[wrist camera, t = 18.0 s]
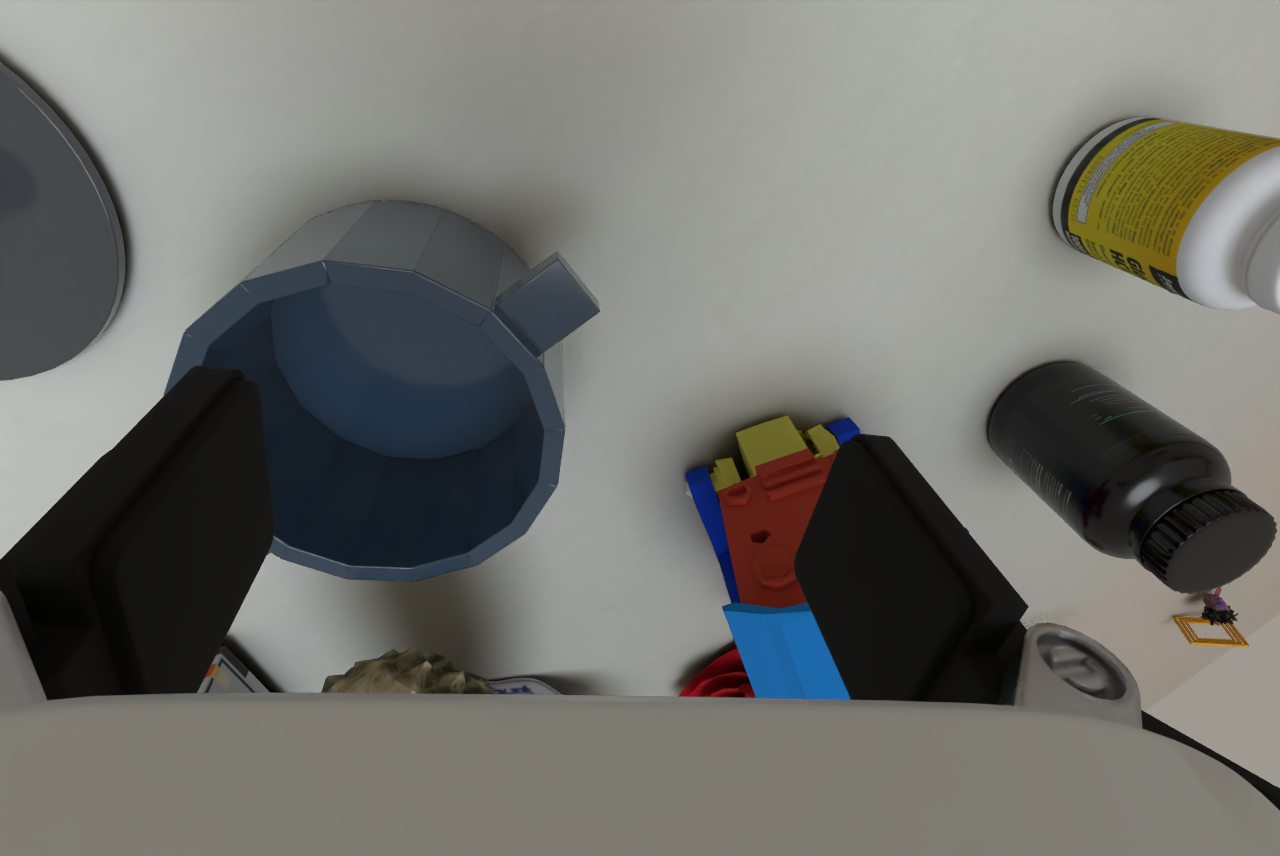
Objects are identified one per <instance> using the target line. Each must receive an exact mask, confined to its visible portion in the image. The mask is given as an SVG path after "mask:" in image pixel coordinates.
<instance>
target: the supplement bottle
mask: <svg viewBox="0 0 1280 856" xmlns="http://www.w3.org/2000/svg"><path fill="white" fill-rule="evenodd" d="M989 439H990V443H991V446H992V448H993V450H994V452H995V453H996V454H997V456H998V457H999V458H1000V459H1001V460H1002V461H1003V462H1004V463H1005V464H1006V465H1007V466H1008V467H1009V468H1010V469H1011V470H1012V471H1013V472H1014V473H1015V474H1016V475H1017V476H1018V477H1019V478H1020V479H1021V480H1022V481H1023V482H1024V483H1026V484H1027V485H1028V486H1029V487H1030V488H1031V489H1032V490H1033V491H1034V492H1035V493H1036V494H1037V495H1038V496H1039V497H1040V498H1041V499H1042V500H1043V501H1044V502H1045V503H1046V504H1047V505H1048V506H1049V507H1050V508H1051V509H1052V510H1053V511H1054V512H1056V513H1057V514H1058V515H1059V516H1060V517H1061V518H1062V519H1063V520H1064V521H1065V522H1066V523H1067V524H1068V525H1069V526H1070V527H1071V528H1072V529H1073V530H1074V531H1075V532H1076V533H1077V534H1078V535H1079V536H1080V537H1081V538H1082V539H1083V540H1085V541H1086V542H1087V543H1088V544H1089V545H1091V546H1092V547H1093V548H1094V549H1096V550H1098V551H1099V552H1102V553H1104V554H1107V555H1110V556H1113V557H1117V558H1124V559H1136V560H1137V561H1138V562H1139V563H1140V564H1141V565H1142V566H1143V567H1144V568H1145V569H1146V570H1148V571H1150V572H1152V573H1153V574H1154V575H1155V576H1156V577H1157V578H1158V579H1159V580H1161V581H1162V582H1163V583H1164V584H1165V585H1166V586H1168V587H1170V588H1171V589H1172V590H1174V591H1179V592H1180V593H1188V594H1192V593H1202V592H1205V591H1211V590H1213V589H1215V588H1220V587H1222V586H1223V585H1225V584H1228V583H1231V582H1232V581H1233V580H1235V579H1237V578H1239V577H1241V576H1242V575H1243V574H1244V573H1246V572H1247V571H1249V570H1250V569H1251V568H1252V567H1253V566H1254V565H1256V564H1257V563H1259V561H1260V560H1261V558H1262V557H1264V556H1265V555H1266V553H1267V551H1268V550H1269V549H1270V547H1271V546H1272V542H1273V541H1274V539H1275V534H1276V532H1277V529H1276V523H1275V521H1274V518H1273V517H1272V516H1271V515H1270V514H1269V513H1268V512H1267V511H1266V510H1264V509H1263V508H1262V507H1260V506H1259V505H1257V504H1256V503H1254V502H1253V501H1251V500H1250V499H1248V497H1247V496H1246V495H1245V494H1244V493H1242V492H1241V491H1239V490H1238V489H1237V488H1235V487H1233V486H1231V473H1230V469H1229V466H1228V463H1227V461H1226V459H1225V458H1224V456H1223V454H1222V453H1221V452H1220V451H1219V450H1218V449H1217V448H1216V447H1214V446H1213V445H1212V444H1210V443H1209V442H1208V441H1206V440H1205V439H1203V438H1202V437H1200V436H1199V435H1197V434H1196V433H1194V432H1192V431H1191V430H1189V429H1188V428H1186V427H1185V426H1183V425H1181V424H1180V423H1178V422H1177V421H1175V420H1174V419H1172V418H1171V417H1169V416H1167V415H1166V414H1164V413H1163V412H1161V411H1160V410H1158V409H1156V408H1155V407H1153V406H1152V405H1150V404H1149V403H1147V402H1146V401H1144V400H1142V399H1141V398H1139V397H1138V396H1136V395H1135V394H1133V393H1131V392H1130V391H1128V390H1127V389H1125V388H1124V387H1122V386H1121V385H1119V384H1117V383H1116V382H1114V381H1113V380H1111V379H1110V378H1108V377H1106V376H1105V375H1103V374H1101V373H1100V372H1098V371H1096V370H1095V369H1093V368H1091V367H1089V366H1086V365H1083V364H1078V363H1058V364H1053V365H1049V366H1045V367H1042V368H1040V369H1037V370H1035V371H1033V372H1031V373H1029V374H1028V375H1026V376H1024V377H1023V378H1022V379H1020V380H1019V381H1018V382H1016V383H1015V384H1014V385H1013V386H1012V387H1011V388H1010V389H1009V390H1008V391H1007V392H1006V393H1005V394H1004V395H1003V396H1002V398H1001V399H1000V401H999V402H998V404H997V405H996V407H995V409H994V411H993V414H992V416H991V420H990V425H989Z"/></svg>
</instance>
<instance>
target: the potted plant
mask: <svg viewBox="0 0 1280 856" xmlns="http://www.w3.org/2000/svg"><path fill="white" fill-rule="evenodd" d="M321 693H403V694H519V695H562V694H561V693H559V692H558V691H556V690H555V689H553V688H552V687H550V686H549V685H547V684H546V683H543V682H541V681H539V680H537V679H532V678H515V679H508V680H502V681H487V680H486V679H484V678H483V677H480V676H476V675H473V674H470V673H468V672H466V671H464V670H461V669H459V668H456V667H453V662H452V657H449V658H446V657H444V656H441V655H438V654H435V653H428V654H424V653H420V652H419V651H418V650H417V649H416V648H410V649H408V650H407V651H405V652H403V653H398V652H397V651H395V650H394V649H393V650H391V651H389V652H387V653H386V654H384V655H383V656H381V657H380V658H378V659H372V660H365V661H360V662H356V663H355V665H354V667H352V668H351V669H350V670H349V671H348V672H346V673H345V674H344V675H333V676H328V677H327V678H326V680H325V683H324V686H323V690H322V692H321Z"/></svg>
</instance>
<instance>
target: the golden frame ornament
mask: <svg viewBox="0 0 1280 856" xmlns="http://www.w3.org/2000/svg"><path fill="white" fill-rule="evenodd" d="M1220 592H1221V588H1217V590H1216V592H1215V594H1214V595H1213V594H1205V596H1204V599H1203V601H1204V603H1205V605H1206V606H1204V608H1205V609H1204V612H1203V613H1202V616H1201V618H1199V617H1176V616H1173V619H1174V621H1175V622H1176V624H1177V625H1178V627H1179V628H1180V630H1181V631H1182V632H1183V634H1184V635H1185V637H1186V638H1187V640H1188V641H1189V643H1190V644H1195V645H1214V646H1234V647H1249V644H1248V643H1247V642H1246V641H1245V639H1244V638H1243V637H1242V635H1241V634H1240V633H1239V632H1238V630H1237V629H1236V628H1235V626H1234V625H1233V621H1234V620H1235V621H1237V619H1236V618H1235V616H1236V615H1237V614H1239V613H1237V614H1236V615H1233V612H1234V611H1233V610H1231V609H1230V606H1227V605H1226V604H1225V602H1224V601H1223V600H1222V598H1220V597H1219V594H1220ZM1177 619H1179V621H1180V623H1181V624H1182V625H1183V627H1184V628H1185V630H1186V631H1187V633H1188V634H1189V635H1190V637H1191V638H1192V640H1193V641H1194V642H1192V640H1191V639H1190V637H1189V636H1188V634H1187V633H1186V632H1185V630H1184V629H1183V627H1182V626H1181V624H1180V623H1179V622H1178V620H1177ZM1230 619H1232V620H1230ZM1183 621H1185V623H1186V625H1187V626H1188V628H1189V629H1190V630H1191V632H1192V633H1193V635H1194V636H1195V637H1196V639H1197V640H1195V638H1194V637H1193V635H1192V634H1191V633H1190V631H1189V630H1188V628H1187V627H1186V626H1185V624H1184V623H1183ZM1188 623H1193V624H1210V625H1212V626H1213V625H1214V624H1215V625H1218V626H1219V625H1222V627H1223V628H1224V629H1225V631H1226V632H1227V633H1228V634H1229V636H1230V637H1231V638H1232V640H1226V639H1206V638H1198V637H1197V635H1196V634H1195V633H1194V631H1193V630H1192V628H1191V627H1190V626H1189V624H1188ZM1223 623H1224V624H1225V625H1226V627H1227V628H1228V629H1229V631H1230V632H1231V633H1232V634H1233V636H1234V637H1235V638H1236V640H1237V641H1238V642H1235V641H1236V640H1235V639H1234V638H1233V636H1232V635H1231V634H1230V632H1229V631H1228V630H1227V629H1226V627H1225V626H1224V625H1223ZM1227 623H1228V624H1229V625H1230V626H1231V628H1232V629H1233V630H1234V631H1235V633H1236V634H1237V635H1238V637H1239V638H1240V639H1241V640H1242V642H1243V643H1244V644H1242V642H1241V641H1240V639H1239V638H1238V637H1237V635H1236V634H1235V633H1234V632H1233V630H1232V629H1231V628H1230V626H1229V625H1228V624H1227Z"/></svg>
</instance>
